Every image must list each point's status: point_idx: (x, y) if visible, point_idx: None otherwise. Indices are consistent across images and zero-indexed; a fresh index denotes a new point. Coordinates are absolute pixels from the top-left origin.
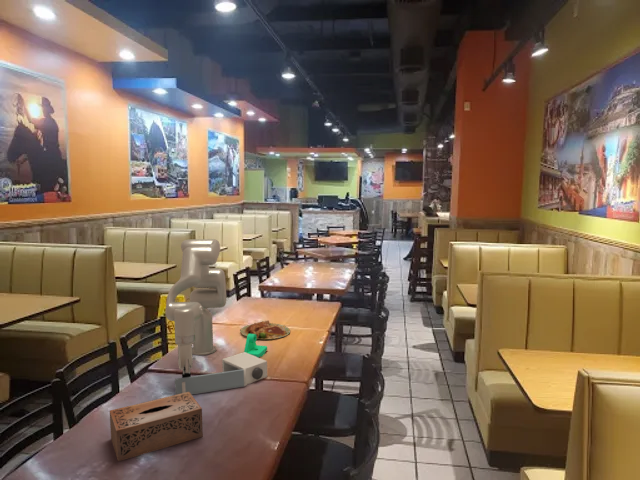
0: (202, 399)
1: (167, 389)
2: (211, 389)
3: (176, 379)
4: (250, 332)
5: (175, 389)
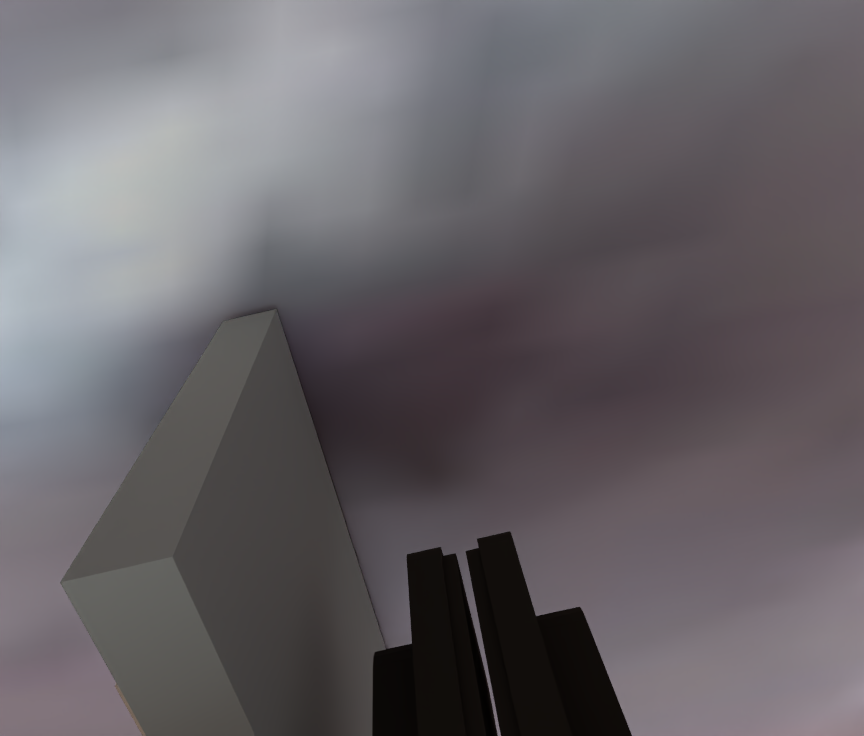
0: None
1: (683, 53)
2: None
3: (99, 627)
4: None
5: (183, 393)
